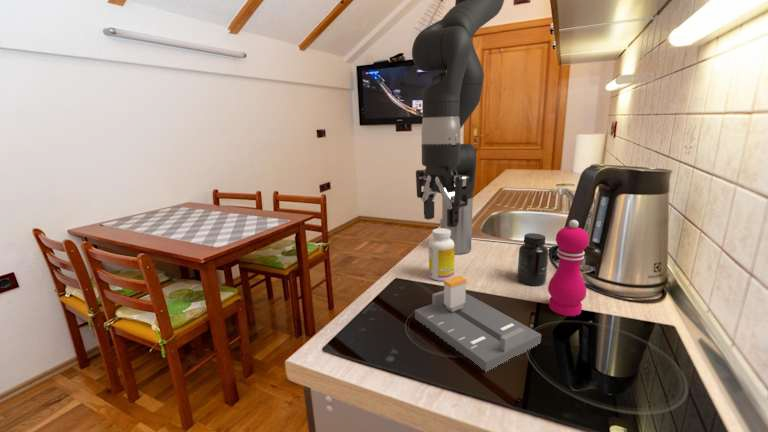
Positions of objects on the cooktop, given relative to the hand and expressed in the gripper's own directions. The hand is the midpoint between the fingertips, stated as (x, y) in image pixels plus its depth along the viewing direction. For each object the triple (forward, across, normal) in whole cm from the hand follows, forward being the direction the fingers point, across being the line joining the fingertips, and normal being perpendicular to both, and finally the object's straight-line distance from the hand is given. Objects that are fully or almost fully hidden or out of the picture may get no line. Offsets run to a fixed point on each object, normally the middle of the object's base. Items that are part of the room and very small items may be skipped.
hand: (440, 222), depth 73 cm
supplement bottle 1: (+20, -13, +11) cm, 26 cm away
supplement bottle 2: (+20, +2, +28) cm, 34 cm away
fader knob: (+17, +5, 0) cm, 18 cm away
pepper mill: (+20, +15, +22) cm, 34 cm away
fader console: (+20, +10, 0) cm, 22 cm away
